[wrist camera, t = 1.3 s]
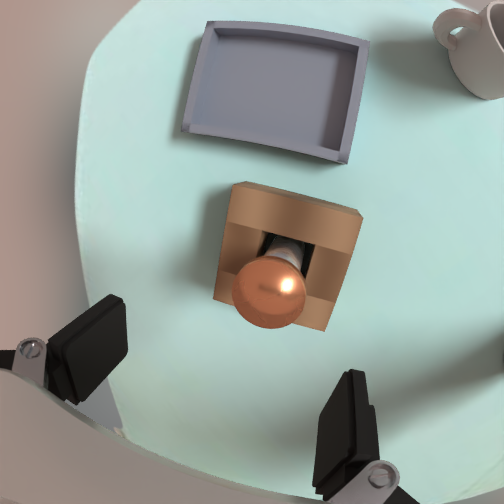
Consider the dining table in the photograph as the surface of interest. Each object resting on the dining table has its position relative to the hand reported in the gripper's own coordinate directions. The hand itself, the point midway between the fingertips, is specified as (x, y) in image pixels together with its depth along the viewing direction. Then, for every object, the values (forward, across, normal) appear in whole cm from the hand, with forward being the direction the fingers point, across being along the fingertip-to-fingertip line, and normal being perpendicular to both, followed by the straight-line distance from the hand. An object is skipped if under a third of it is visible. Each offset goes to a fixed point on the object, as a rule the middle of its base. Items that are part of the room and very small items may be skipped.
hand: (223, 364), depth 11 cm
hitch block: (+16, -1, 0) cm, 17 cm away
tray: (+17, +3, -14) cm, 22 cm away
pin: (+16, -1, 0) cm, 17 cm away
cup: (+16, -14, -23) cm, 32 cm away
